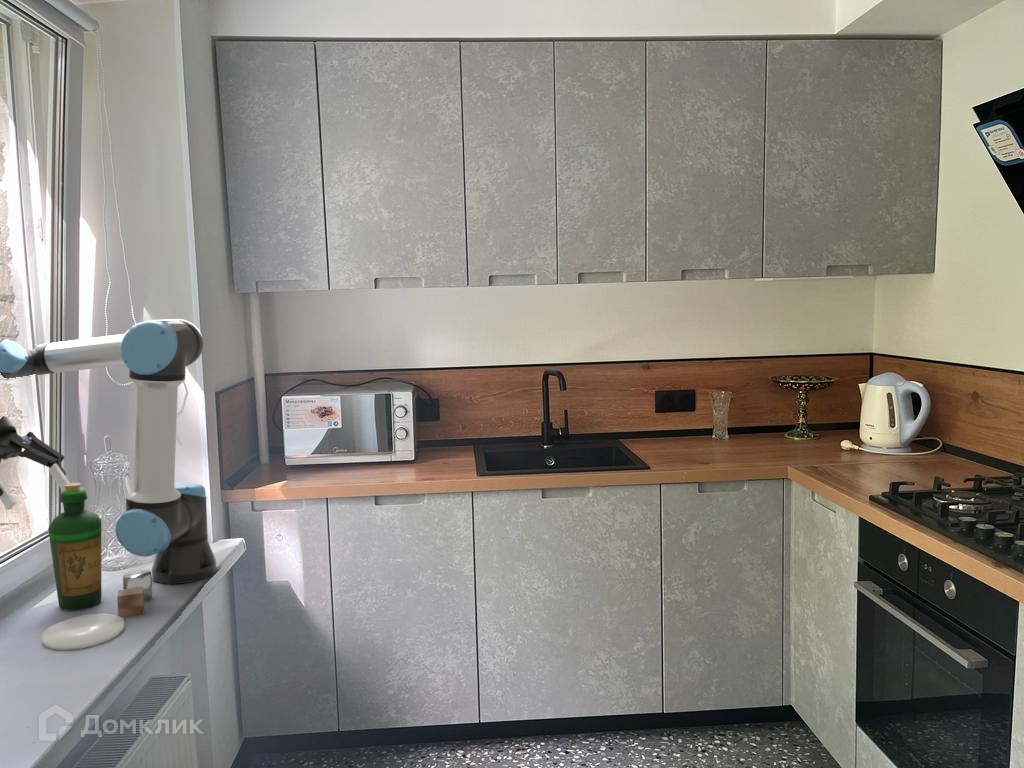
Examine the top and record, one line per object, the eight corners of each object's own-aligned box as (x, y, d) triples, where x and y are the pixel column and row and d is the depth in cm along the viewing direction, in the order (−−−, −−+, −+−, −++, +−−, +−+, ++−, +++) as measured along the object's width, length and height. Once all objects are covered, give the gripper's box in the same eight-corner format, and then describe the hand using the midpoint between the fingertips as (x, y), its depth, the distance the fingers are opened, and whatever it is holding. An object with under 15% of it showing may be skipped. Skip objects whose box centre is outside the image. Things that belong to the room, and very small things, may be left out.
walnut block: (144, 608, 175) (143, 586, 174) (143, 614, 171) (142, 593, 171) (119, 611, 173) (118, 590, 172) (118, 618, 169) (117, 596, 169)
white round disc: (126, 614, 171) (126, 609, 171) (121, 642, 157) (121, 636, 157) (48, 625, 165) (47, 620, 165) (36, 655, 152) (35, 649, 151)
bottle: (77, 616, 170) (69, 492, 167) (42, 609, 174) (33, 487, 171) (117, 598, 180) (110, 481, 177) (83, 592, 184) (75, 477, 180)
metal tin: (153, 593, 184) (151, 568, 183) (152, 602, 178) (150, 577, 177) (124, 596, 181) (123, 572, 181) (123, 606, 176) (121, 580, 175)
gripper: (-60, 426, 166) (-6, 504, 164) (47, 404, 189) (95, 473, 187) (-74, 446, 169) (-21, 523, 167) (33, 422, 192) (80, 490, 190)
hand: (40, 497), depth 177 cm, fingers open, 13 cm apart
